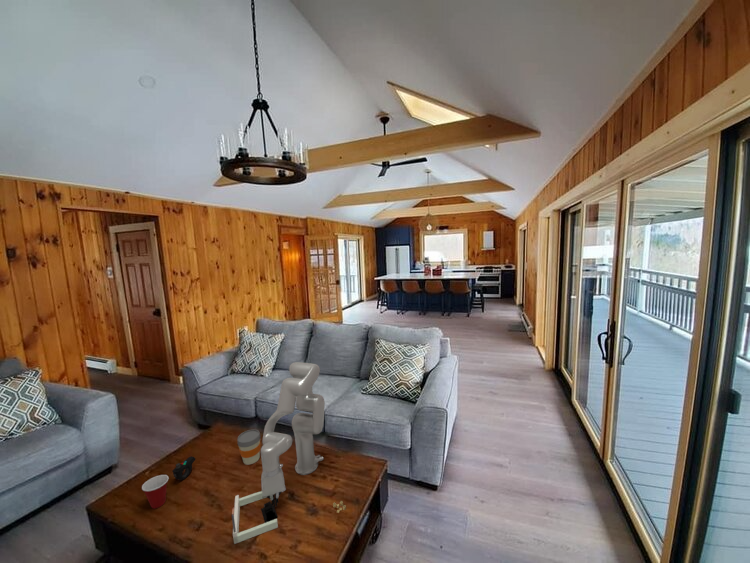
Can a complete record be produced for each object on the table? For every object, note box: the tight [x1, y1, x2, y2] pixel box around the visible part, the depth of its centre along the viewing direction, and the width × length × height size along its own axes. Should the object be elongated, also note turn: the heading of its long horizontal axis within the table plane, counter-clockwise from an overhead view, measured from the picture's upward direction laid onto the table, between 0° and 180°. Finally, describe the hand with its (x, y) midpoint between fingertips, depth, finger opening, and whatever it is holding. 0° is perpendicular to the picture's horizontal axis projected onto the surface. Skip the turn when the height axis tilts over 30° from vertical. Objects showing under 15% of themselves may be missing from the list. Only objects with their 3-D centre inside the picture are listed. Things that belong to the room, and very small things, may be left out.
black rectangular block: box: [260, 500, 279, 523], centre depth 141 cm, size 12×7×5 cm, turn 33°
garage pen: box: [231, 490, 279, 545], centre depth 139 cm, size 18×21×13 cm
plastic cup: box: [141, 474, 170, 509], centre depth 149 cm, size 11×11×12 cm
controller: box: [172, 456, 196, 481], centre depth 167 cm, size 4×12×10 cm, turn 165°
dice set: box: [332, 500, 347, 514], centre depth 142 cm, size 5×5×2 cm
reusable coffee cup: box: [237, 428, 262, 466], centre depth 177 cm, size 13×13×15 cm
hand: (275, 504), depth 143 cm, fingers closed
